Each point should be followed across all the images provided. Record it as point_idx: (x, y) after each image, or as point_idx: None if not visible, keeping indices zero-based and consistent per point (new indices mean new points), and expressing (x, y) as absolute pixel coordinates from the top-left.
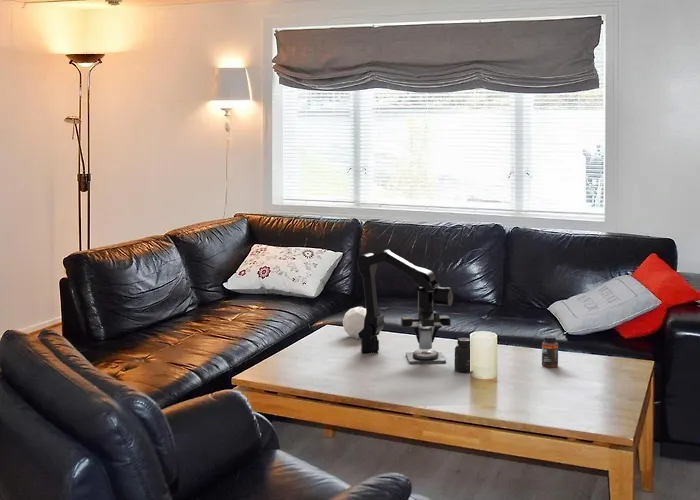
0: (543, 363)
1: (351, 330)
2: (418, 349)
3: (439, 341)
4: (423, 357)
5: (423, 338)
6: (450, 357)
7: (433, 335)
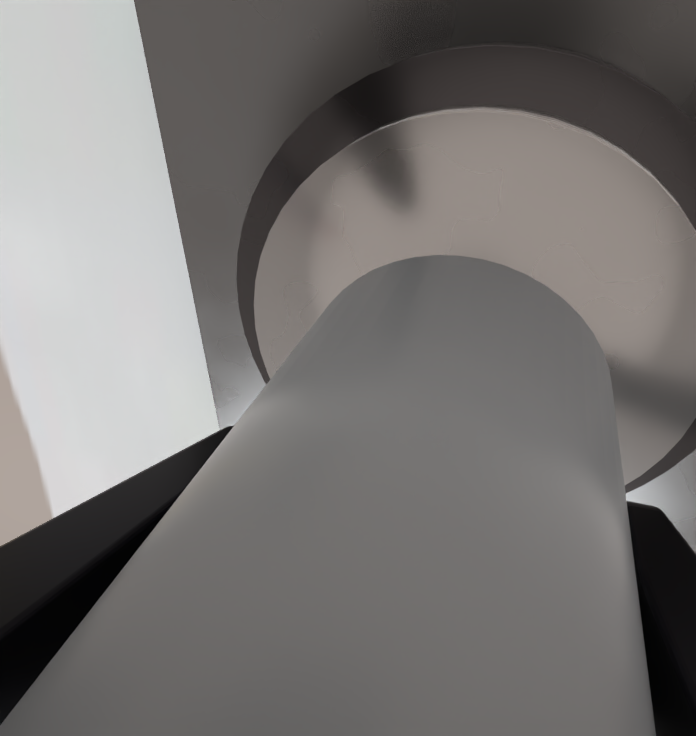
0: None
1: None
2: None
3: None
4: (590, 58)
5: (513, 502)
6: (128, 290)
7: (63, 558)
